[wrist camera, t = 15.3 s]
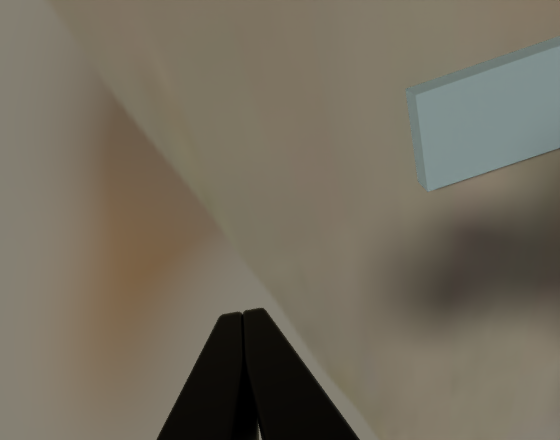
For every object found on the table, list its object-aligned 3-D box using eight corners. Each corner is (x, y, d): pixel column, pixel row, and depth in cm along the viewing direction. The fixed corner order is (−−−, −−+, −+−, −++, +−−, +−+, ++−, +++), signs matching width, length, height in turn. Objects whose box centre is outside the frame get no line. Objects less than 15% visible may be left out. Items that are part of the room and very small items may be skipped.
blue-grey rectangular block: (415, 95, 18) (597, 32, 18) (401, 86, 19) (569, 28, 19) (427, 191, 21) (585, 139, 20) (414, 178, 22) (562, 128, 22)
